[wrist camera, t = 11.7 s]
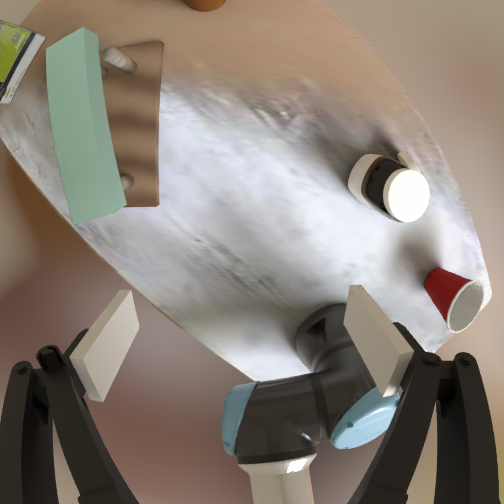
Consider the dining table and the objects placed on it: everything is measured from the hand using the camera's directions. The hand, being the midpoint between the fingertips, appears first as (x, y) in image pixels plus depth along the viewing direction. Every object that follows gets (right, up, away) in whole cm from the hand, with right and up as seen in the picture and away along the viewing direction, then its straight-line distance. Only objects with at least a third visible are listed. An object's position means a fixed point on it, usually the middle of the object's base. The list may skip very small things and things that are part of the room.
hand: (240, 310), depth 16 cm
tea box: (-46, +40, +12) cm, 62 cm away
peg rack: (-20, +23, +20) cm, 36 cm away
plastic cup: (+39, -2, +33) cm, 51 cm away
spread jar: (+22, +16, +25) cm, 36 cm away
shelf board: (-20, +20, +11) cm, 30 cm away
